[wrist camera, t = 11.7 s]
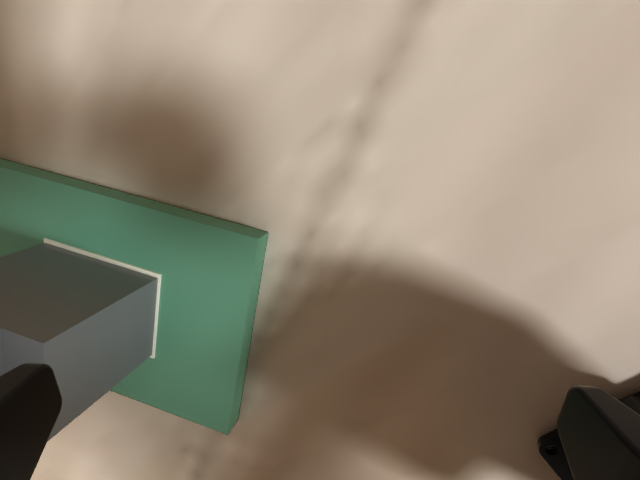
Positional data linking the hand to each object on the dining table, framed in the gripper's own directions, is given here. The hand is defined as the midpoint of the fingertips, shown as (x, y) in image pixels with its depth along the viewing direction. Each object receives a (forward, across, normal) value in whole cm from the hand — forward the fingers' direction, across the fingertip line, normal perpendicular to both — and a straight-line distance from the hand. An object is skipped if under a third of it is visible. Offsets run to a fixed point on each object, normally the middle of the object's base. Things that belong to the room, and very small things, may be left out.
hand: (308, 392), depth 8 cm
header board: (+14, +11, +8) cm, 19 cm away
